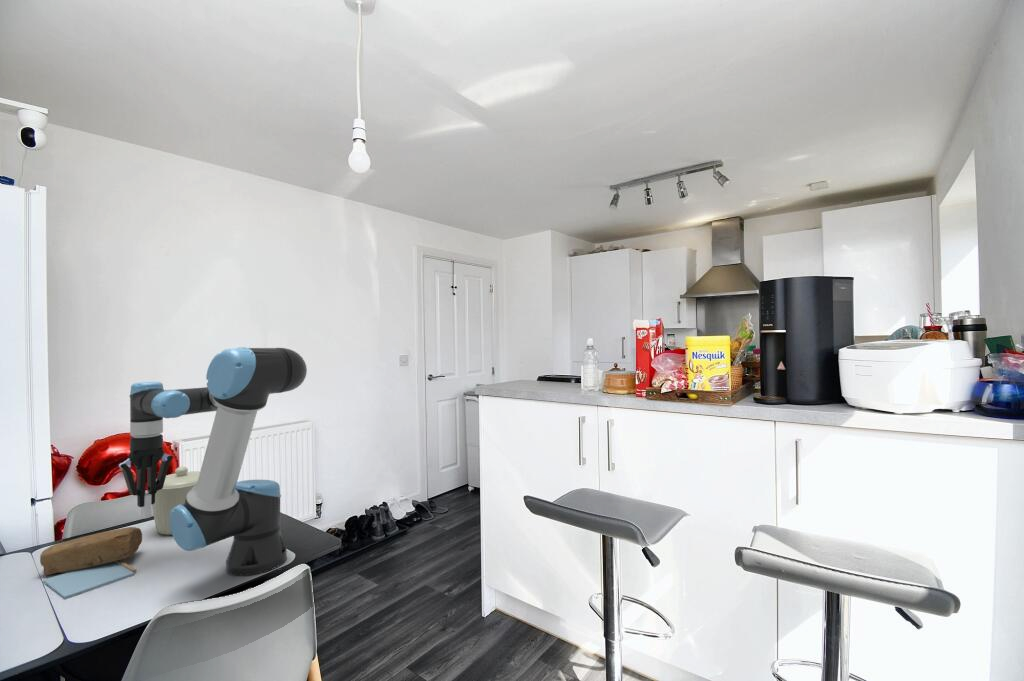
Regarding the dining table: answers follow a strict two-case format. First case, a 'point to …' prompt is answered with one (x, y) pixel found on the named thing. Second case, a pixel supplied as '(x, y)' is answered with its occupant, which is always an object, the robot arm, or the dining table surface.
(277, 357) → the robot arm
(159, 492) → the canister
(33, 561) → the dining table surface
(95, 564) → the pitted brown rock
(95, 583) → the book
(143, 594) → the dining table surface
